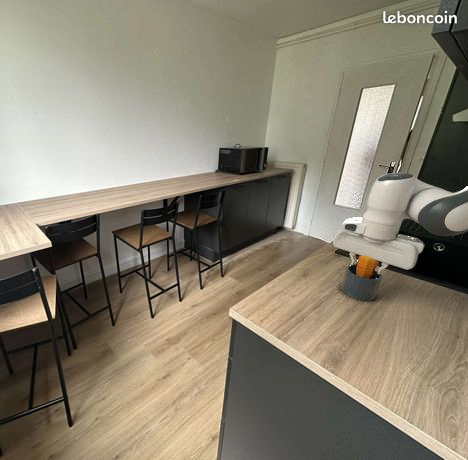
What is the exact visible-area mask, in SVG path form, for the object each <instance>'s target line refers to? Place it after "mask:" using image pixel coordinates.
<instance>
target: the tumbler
mask: <svg viewBox="0 0 468 460" xmlns="http://www.w3.org/2000/svg"><path fill="white" fill-rule="evenodd" d="M356 268H357V266H354V265H351V264H350V265H349V264H348V265H347V266H346V269H345V273H344V276H343V280H342V282H341V287H340V289H341V291H342V292H343V293H344V294H345V295H346V296H348V297H350V298H351V299H354V300H358V301H363V302H370V301H373V300H375V298H376V296H377V293H378V291H379V287H380V284H381V282H382V279H383V274H382V273H381V274H377V273H374V274H373V275H372V276H371V278H370V279H367V278H363V277H360V276H357V275H356Z"/></svg>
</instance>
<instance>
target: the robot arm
mask: <svg viewBox="0 0 468 460" xmlns="http://www.w3.org/2000/svg"><path fill="white" fill-rule="evenodd" d="M407 219H408V220H412V221H413V222H415V223H417V224H419V225H420V226H421V227H422V228H423V229H425V230H426V231H428V232H429V233H430V234H431V235H435V236H438V237H439V236H440V237H453V236H454V237H455V236H458V235H462V234H465V233H467V232H468V186H466V187H465V188H464V189H462V190H459V191H456V192H452V191H448V190H445V188H444V189H443V188H441V187H438V186H434V185H432V184H429V183H427V182H424V181H421V180H420V179H418V178H417V177H416V176H414V174H412V173H408V172H392V173H386V174H383V175H380V176H379V177H378V178H376V180H375V181H374V182H373V184H372V186H371V189H370V191H369V194H368V197H367V200H366V210H365V212H364V213H363V215H362V217H352V218H351V217H350V218H348V219H346V220H344V221H343V222H342V223H341V224H340V229H338V230H337V231H336V233H335V235H334V238H333V241H332V245H333V247H334V248H336V249H340V250H343V251H346V252H349V253H348V254H349V257H350V260H351V262H350V265H354V266H357V263H358V259H357V256H356V255H358V256H359V255H362V256H367V257H370V258H372V259H374V260H378V261H379V262H381V266H379V265H377V267H376V268H375V271H374V273H377V274H382V272H383V270H384V269H386V268H387V267H389V266H390V265H391V266H394V267H397V268H400V269H403V270H406V271H409V270H412V269H413V268H414V267H415V266H416V265H417V261H418V257H419V254H422V253H423V251H424V248H425V243H424V242H423V241H422V240H420V238H418V237H415V236H409V235H406V234H402V233H399V232H400V229H401V226H402V223H403V221H404V220H407Z"/></svg>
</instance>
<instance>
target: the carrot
mask: <svg viewBox="0 0 468 460" xmlns="http://www.w3.org/2000/svg"><path fill="white" fill-rule="evenodd" d="M357 260H358V263H357V268H356V275H357V276H360V277H363V278H367V279H370V278H371V276H372V275H373V274H374V271H375V268H376V267H377V266H379V262H380V261H378V260H374V259H372V258H370V257H367V256H362V255H358V259H357Z"/></svg>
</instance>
